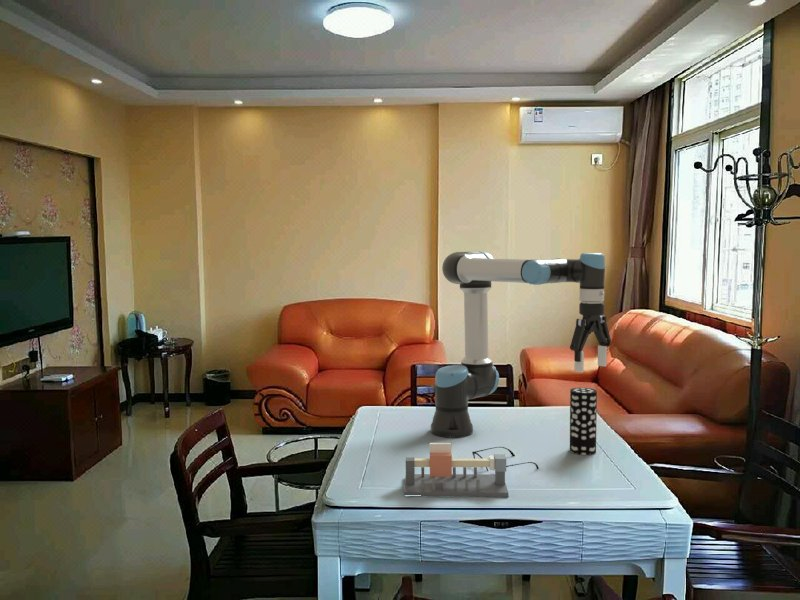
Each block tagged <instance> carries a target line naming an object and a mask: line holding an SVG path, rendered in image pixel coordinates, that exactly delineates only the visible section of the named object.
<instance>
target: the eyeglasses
mask: <svg viewBox="0 0 800 600" xmlns="http://www.w3.org/2000/svg"><path fill="white" fill-rule="evenodd" d="M497 448H499V449H500V448H502V449H505V450H507V451H508V452H509V453H510V455H511V457H516V455H515V453H514V452H513V451H512V450H511V449H509V448H508V447H504V446H496V447H491V448H490V447H489V448H484V449H480V450H475V451H472V452H471V453H472V456H473V459H476V458H475V457H476V455H477V456H478V457H479V459H484V458H483V457H482V456H481V454H479V452H485V451H488V450H491V449H492V450H493V449H497ZM523 464H533V465H535V467H536V469H537V470H539V469H540V468H539V466H538V464H537V463H536V462H533V461H527V462H521V463H515V464H509V465H506V468H509V467H513V466H514V467H515V466H519V465H523ZM485 468H486V471H487V472H489V467H485Z"/></svg>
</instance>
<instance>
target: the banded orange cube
mask: <svg viewBox="0 0 800 600" xmlns="http://www.w3.org/2000/svg"><path fill="white" fill-rule="evenodd" d="M429 459H430V467H429V474H430V477H452V474H453V467H452V459H453V456H452V443H451V442H429Z"/></svg>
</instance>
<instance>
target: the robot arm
mask: <svg viewBox="0 0 800 600" xmlns="http://www.w3.org/2000/svg"><path fill="white" fill-rule="evenodd" d="M605 261H606V257H605V255H604V254H603V253H602V252H583V253H581V254H580V255H579V258H576V259H575V258H551V259H518V258H517V259H515V258H513V259H512V258H511V259H510V258H494V257H493V256H492V254H490V253H489V252H487V251H478V250H475V251H474V250H473V251H455V252H453V253H450V254H449V255H448V256H446V257H445V259H444V260H443V262H442V266H441V270H442V274H443V276H444V277H445V280H447V281H448V282H450V283H452V284H454V285H455V284H456V285H459V289H460V290H461V291H462V292H463V304H464V305H463V306H464V307H463V308H464V319H463V320H464V358H462V360H461V363H460V364H461V365H460V364H452V365H445V366H442V367H440V368H438V369H437V371H436V372H435V378H434V384H435V385H434V391H435V392H434V393H435V394H434V395H435V396H434V397H435V411H434V415H433V418H432V422H431V424H430V433H431V434H433V435H434V436H438V437H444V438H462V437H467V436H470V435H472V434H473V433H474V432H473V430H474V427H473V423H472V421H471V420H472V419H471V417H470V413H469V400H473V399H476V398H477V399H478V398H484V397H486V396H489V395H491V394H493V393H494V392H495V391H496V390H497V388H498V387H499V384H500V374H499V371H498V370H497V368H496V366H494V365H493V359H491V358H490V356H489V316H488V311H489V310H488V306H489V305H488V292H489V291H490V290H491V289H492V282H501V283H520V284H530V285H534V286H539V285H540V286H541V285H544V284H545V285H546V284H558V283H559V284H560V283H579V297H578V298H579V301H580V303H579V304H578V305H579V309H578V312H579V314H580V315H582V318H576V321H575V328H574V332H573V334H572V338H571V342H570V345H569V346H570V347H569V349H570V350H571V351H573V352H574V358H573V359H574V372H576V373H584V366H585V365H584V361H585V360H584V359H585V358H584V357H585V354H584V351H583V349H584V346H585V345H586V342H587V340H588V338H589V335H591V334H592V333H593V334H594V335H595V338H596V340H597V343H598V344H599V345H597V366H598V367H607V354H608V352H607V350H608V349H607V347H610V346H611V343H612V339H611V336H610V332H609V328H608V323H607V316H606V315H604V314H605V303H604V301H605V295H606V293H605V277H606V275H605V274H606V273H605V272H606V263H605Z"/></svg>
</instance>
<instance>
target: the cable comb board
mask: <svg viewBox="0 0 800 600" xmlns="http://www.w3.org/2000/svg"><path fill="white" fill-rule="evenodd" d="M414 458H415V457H411V456H409V457H407V456H406V457H405V476H404V477H405V479H404V490H403V496H404V495H421V496H471V497H470V498H475V497H476V498H509V491H508V487H507V484H506V483H507V482H506V472H495V471H494V473H493V474H492V473H491V474H490V473H489V474H488V473H487V474H485V473H484V474H481V473H480V474H478V467H473V473H472V474H471V473H470V474H469V473H467V467H462V469H463V470H462V474H461V473H457V471H456V469H457V467H452V477H430V473H425V467H420V468H421V471H420V472H421V473H415V472H416V469H415V468H416V467H414ZM487 496H488V497H487ZM490 496H491V497H490Z"/></svg>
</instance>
